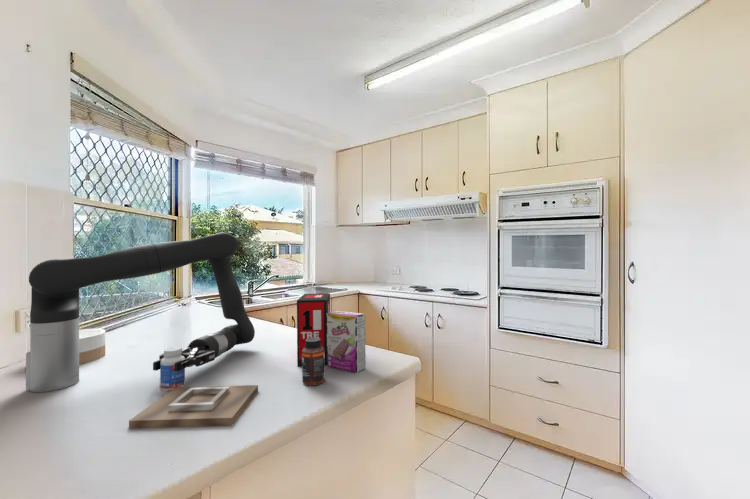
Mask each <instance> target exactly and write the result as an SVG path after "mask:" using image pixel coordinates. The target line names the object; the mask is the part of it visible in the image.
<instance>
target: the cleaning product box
mask: <svg viewBox="0 0 750 499" xmlns="http://www.w3.org/2000/svg"><path fill="white" fill-rule="evenodd" d="M328 312H331V293H330V292H328V293H321V292H320V293H304V294H303V295H301V297H299V298H298V299H297V300H296V338H297V340H296V344H297V345H296V346H297V349H296V350H297V351H296V354H297V357H296V358H297V359H296V362H297V365H296V366H297V367H301V368H302V350H303V348H304V347H305V346H306V345H305V343H306V339H308V338H320V339H321V346H322V347H324V351H325V367H327V313H328Z"/></svg>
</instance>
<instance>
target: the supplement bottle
mask: <svg viewBox="0 0 750 499" xmlns="http://www.w3.org/2000/svg"><path fill="white" fill-rule="evenodd" d="M305 345H306V346H305V347H304V348H303V350H302V367H301V375H302V377H301V378H302V380H301V381H302V384H304V385H306V386H318V385H321V384H323V383H324V382H325V380H326V369H325V368H326V366H325V351H324V347H322V346H321V339H320V338H308V339H306V343H305Z"/></svg>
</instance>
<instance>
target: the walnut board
mask: <svg viewBox="0 0 750 499" xmlns="http://www.w3.org/2000/svg"><path fill="white" fill-rule="evenodd" d="M258 392H259V385H258V384H257V385H256V384H254V385H253V384H252V385H251V384H250V385H248V384H247V385H214V386H213V385H212V386H211V385H210V386H183V387H175V388H174V389H173V390H170V391H167V393H166V394H164V395H163V396H162V397H160V398H158V399H157V400H156V401H154V402H153V403H152V404H150V405H149V406H148V407H146V408H145V409H143V410H142V411H140V412H139V413H138V414H136V415H135V416H134V417H132V418H131V419H129V420H128V429H153V428H154V429H155V428H160V429H161V428H181V427H182V428H183V427H184V428H186V427H187V428H189V427H191V428H192V427H219V426H224V427H225V426H233V425H234V424H235V422H236V421H237V419H238V418H239V417H240V416H241V414H242V413H243V412H244V411H245V409H246V408H247V406H248V405H249V403H251V401H252V400H253V399H254V397H255V396H256V394H257V393H258Z"/></svg>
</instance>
